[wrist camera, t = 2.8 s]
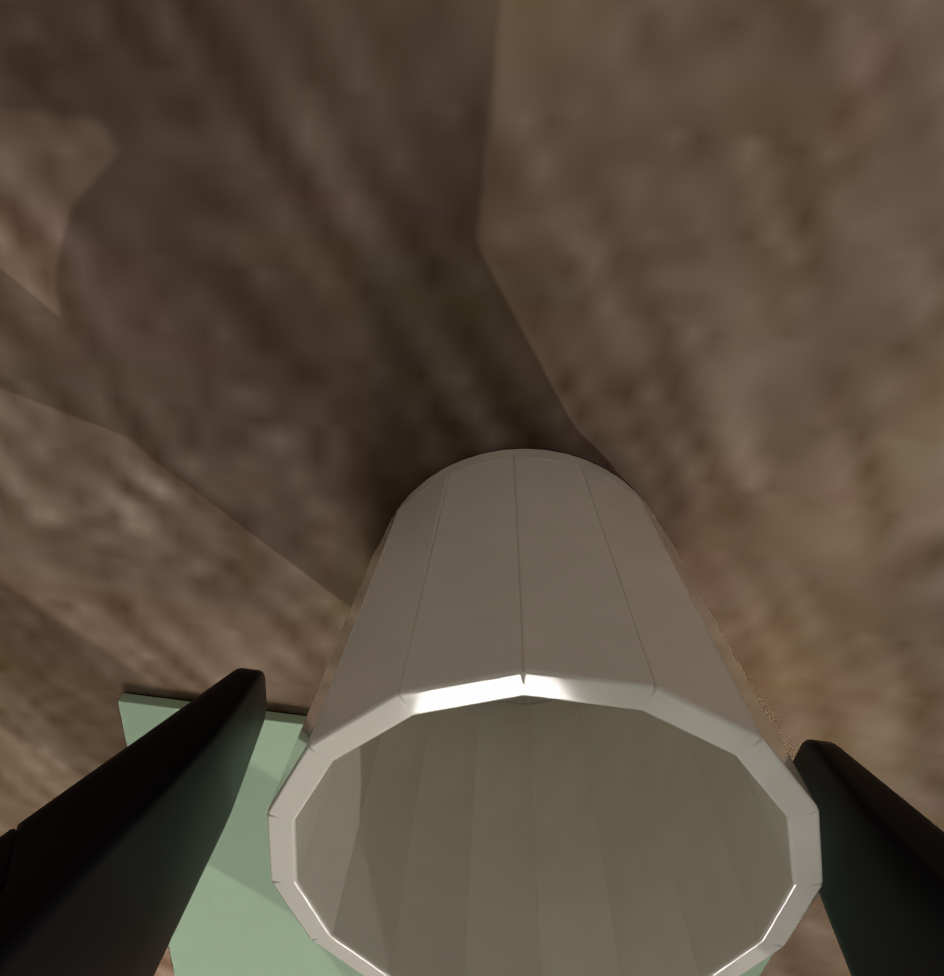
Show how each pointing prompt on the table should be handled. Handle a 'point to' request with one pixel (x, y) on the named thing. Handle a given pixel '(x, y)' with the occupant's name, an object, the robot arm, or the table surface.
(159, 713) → the felt mat
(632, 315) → the table surface
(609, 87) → the table surface
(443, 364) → the table surface
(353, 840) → the cup
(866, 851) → the robot arm
